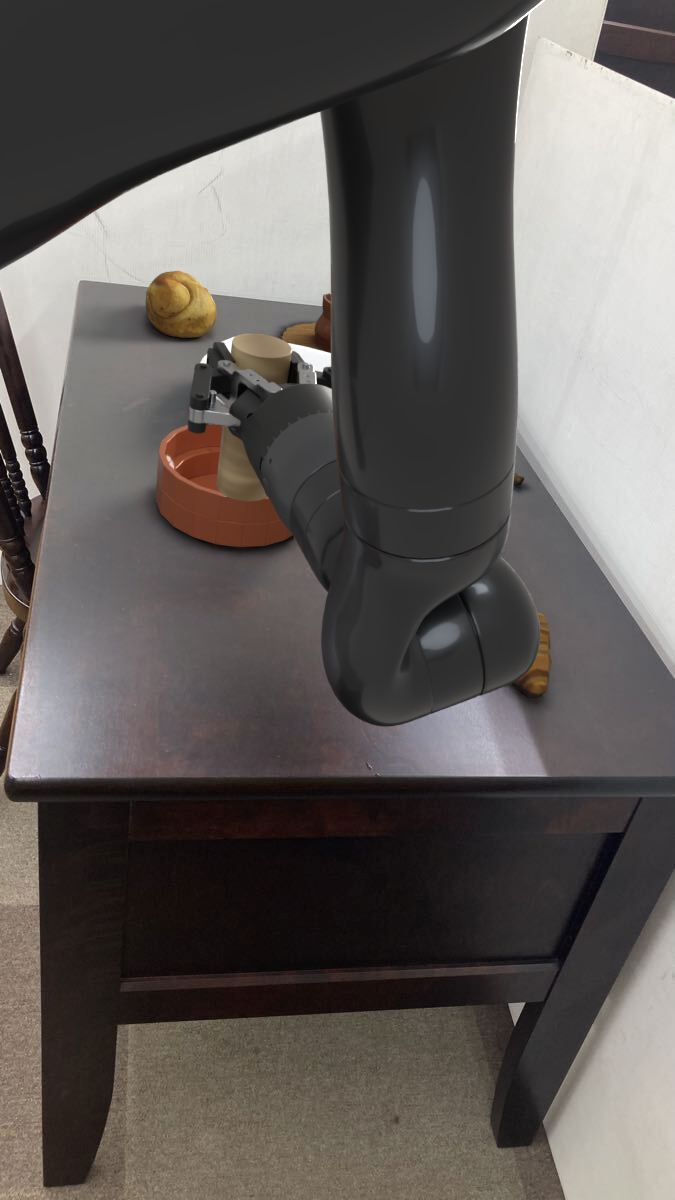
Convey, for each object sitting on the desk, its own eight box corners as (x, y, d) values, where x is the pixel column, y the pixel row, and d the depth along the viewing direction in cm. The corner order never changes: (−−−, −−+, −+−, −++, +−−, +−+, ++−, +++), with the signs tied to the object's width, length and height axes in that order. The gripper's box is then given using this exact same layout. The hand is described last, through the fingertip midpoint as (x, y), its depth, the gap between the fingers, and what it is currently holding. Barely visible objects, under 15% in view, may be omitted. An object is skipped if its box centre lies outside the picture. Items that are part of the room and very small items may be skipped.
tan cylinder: (223, 502, 69) (241, 356, 62) (210, 473, 73) (225, 331, 66) (277, 501, 71) (300, 358, 64) (262, 472, 74) (282, 334, 67)
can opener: (523, 484, 107) (526, 476, 106) (513, 490, 105) (516, 481, 105) (461, 452, 111) (464, 444, 110) (451, 457, 109) (454, 449, 109)
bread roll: (139, 305, 130) (142, 249, 126) (206, 310, 133) (211, 256, 129) (147, 340, 121) (150, 282, 116) (219, 346, 124) (224, 288, 119)
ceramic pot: (297, 314, 139) (304, 268, 135) (407, 342, 138) (418, 297, 134) (268, 353, 125) (275, 303, 121) (390, 384, 124) (401, 336, 120)
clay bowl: (173, 556, 83) (178, 501, 79) (142, 472, 94) (145, 421, 90) (325, 547, 89) (336, 496, 85) (279, 469, 99) (287, 420, 96)
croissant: (571, 702, 77) (591, 659, 74) (499, 705, 75) (517, 660, 72) (512, 604, 87) (528, 562, 84) (448, 604, 85) (461, 561, 82)
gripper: (436, 414, 56) (344, 311, 68) (215, 413, 51) (157, 301, 63) (410, 515, 61) (327, 401, 73) (203, 523, 55) (152, 399, 68)
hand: (248, 355), depth 68 cm, fingers closed on tan cylinder, 4 cm apart
